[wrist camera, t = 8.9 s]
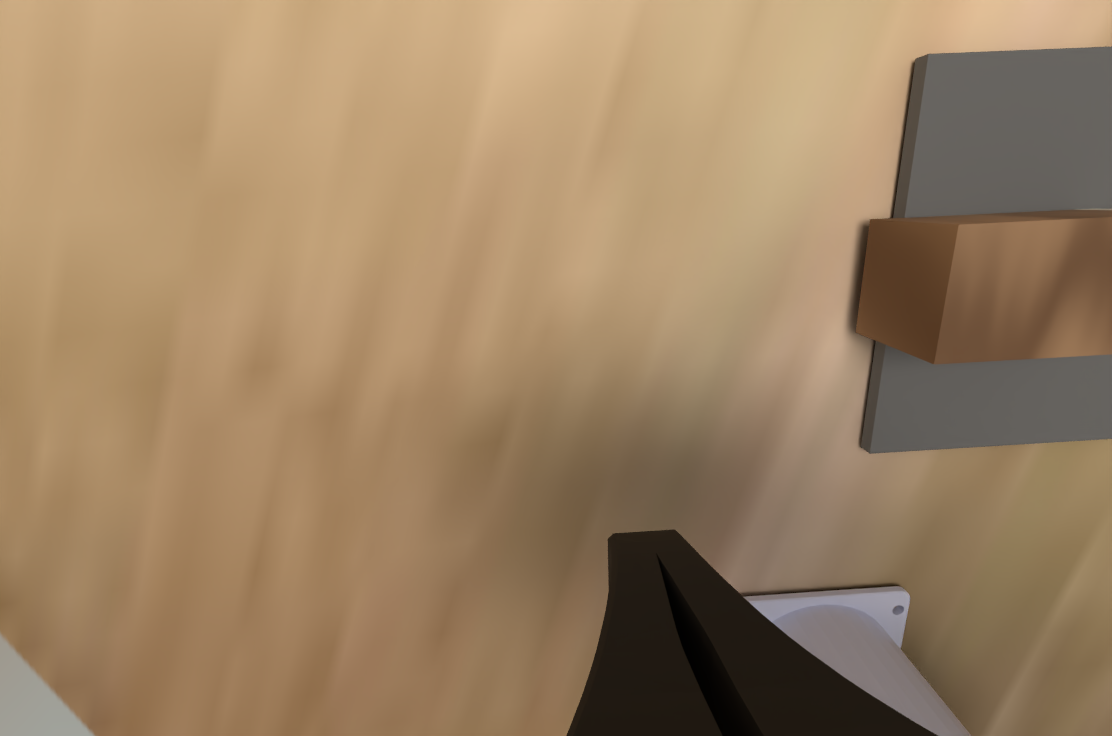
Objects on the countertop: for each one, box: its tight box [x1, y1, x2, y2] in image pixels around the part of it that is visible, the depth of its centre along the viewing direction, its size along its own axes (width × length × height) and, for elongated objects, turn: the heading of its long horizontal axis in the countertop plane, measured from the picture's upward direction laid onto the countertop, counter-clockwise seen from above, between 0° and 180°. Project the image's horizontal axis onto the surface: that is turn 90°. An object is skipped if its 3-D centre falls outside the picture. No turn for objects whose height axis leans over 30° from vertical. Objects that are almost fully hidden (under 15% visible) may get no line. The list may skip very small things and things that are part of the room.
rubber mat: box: [861, 47, 1112, 454], centre depth 20 cm, size 14×16×1 cm
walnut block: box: [856, 208, 1112, 364], centre depth 17 cm, size 4×4×8 cm
